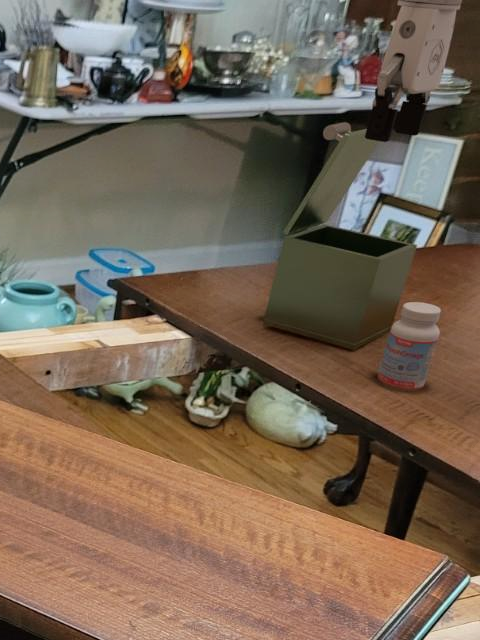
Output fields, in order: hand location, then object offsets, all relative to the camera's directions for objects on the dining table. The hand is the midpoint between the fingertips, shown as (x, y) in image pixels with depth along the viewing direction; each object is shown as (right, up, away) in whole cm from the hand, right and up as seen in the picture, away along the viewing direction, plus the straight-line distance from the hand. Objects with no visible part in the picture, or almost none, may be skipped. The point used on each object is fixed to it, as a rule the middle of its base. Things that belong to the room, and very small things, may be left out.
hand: (391, 137), depth 150 cm
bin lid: (-2, -1, +13) cm, 13 cm away
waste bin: (0, -21, +22) cm, 30 cm away
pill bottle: (+1, -34, +1) cm, 34 cm away
